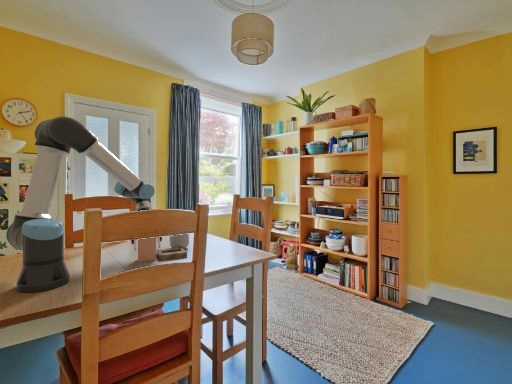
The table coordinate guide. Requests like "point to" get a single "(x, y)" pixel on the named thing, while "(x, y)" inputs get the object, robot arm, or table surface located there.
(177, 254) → the base board
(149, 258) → the pinkish brown block
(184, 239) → the grey rounded piece
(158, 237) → the robot arm
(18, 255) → the table surface
